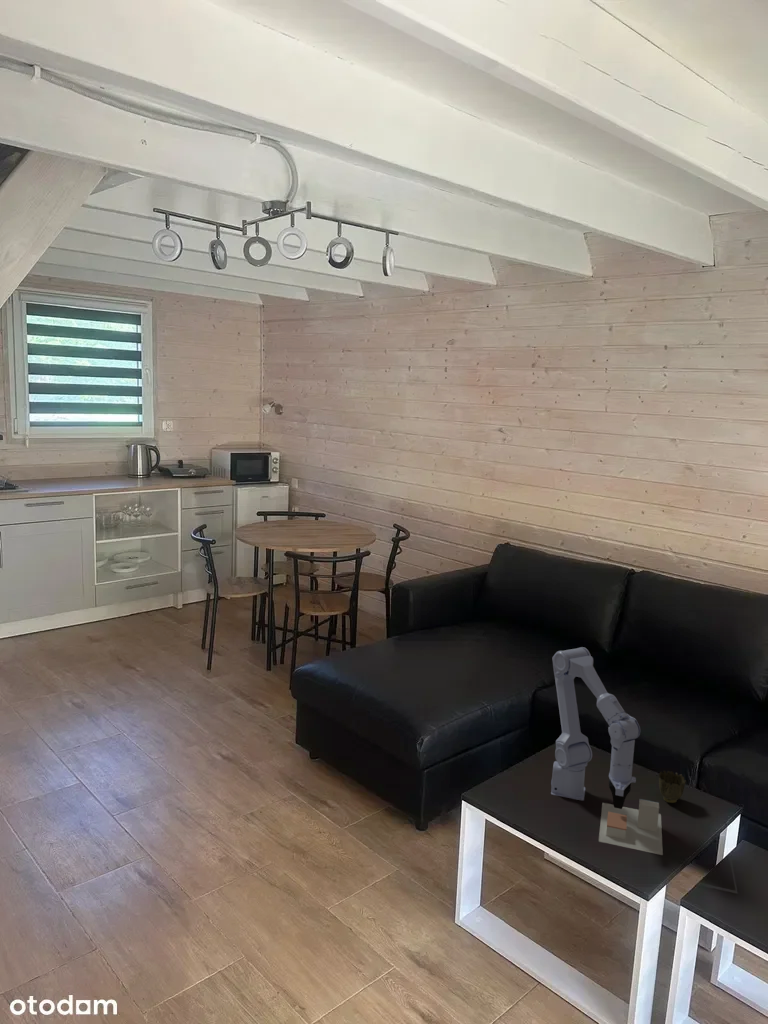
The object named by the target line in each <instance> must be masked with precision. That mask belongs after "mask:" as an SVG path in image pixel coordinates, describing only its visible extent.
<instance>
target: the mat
mask: <svg viewBox="0 0 768 1024" xmlns="http://www.w3.org/2000/svg"><path fill="white" fill-rule="evenodd" d="M608 812H613V813H618V814H623V815H627V827H626V840H625V839H620V838H616V837H611V836H606V830H607V818H608ZM638 812H639V809H637V808H632V807H626V806H623V807H622V809H619V808H614V805H613V804H611V803H608V802H602V804H601V814H600V815H601V816H600V826H599V831H598V832H599V834H598V842H599V843H603V844H609V845H613V846H617V847H623V848H627V849H632V850H637V851H641V852H646V853H649V854H655V855H658V856H659V855H660V856H663V855H664V853H663V834H662V832H663V831H662V829H663V828H662V814H661V813H659V814H658V825H657V832H656V831H651V830H646V829H641V828H638Z"/></svg>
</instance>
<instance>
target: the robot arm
mask: <svg viewBox="0 0 768 1024" xmlns="http://www.w3.org/2000/svg"><path fill="white" fill-rule="evenodd" d="M591 655H592V654H591V653H590V651H589V649H587V648H586V647H583V646H580V647H577V648H572V649H566V650H558V651H556V652H555V653H554V655H553V656H552V657H551V658H552V668H553V675H554V680H555V681H554V682H555V687H556V697H557V703H558V710H559V711H558V712H559V718H560V719H559V720H560V725H561V734H560V735H559V737H558V738H557V739H556V740H555V751H554V757H555V761H553V766H552V772H551V773H552V776H551V781H550V785H551V789H550V791H551V792H550V794H551V795H553V796H557V797H563V798H569V799H572V800H576V801H577V800H579V801H585V795H586V787H585V778H586V777H585V775H586V774H585V773H586V767H587V766H588V763H589V762H591V761H592V758H593V751H592V748H591V746H590V743H589V738H588V736H586V735H585V734H583V733H582V732H581V726H580V718H579V709H578V703H577V695H576V688H575V678H576V677H578V678H581V680H582V681H583V682H584V684H585V685H586V686H587V688H588V689H589V691H591V693H592V694H593V695H594V696H595V698H596V707H597V709H598V711H599V712H600V713H601V715H602V717H603V718H604V720H605V721H606V723H607V725H608V729H607V730H608V735H609V736H610V744H611V752H610V753H611V754H610V766H609V767H610V768H609V772H608V778H609V781H608V786H609V787H608V788H609V789H610V792H611V795H612V803H613V804H612V805H614V808H619V809H622V807H624V805H625V801H626V798H627V796H628V795H629V793H630V792H631V790H632V789H631V788H632V787H631V786H632V783H635V784H636V782H637V777H635V776H632V775H633V765H634V764H633V763H634V754H635V753H634V752H635V743H636V739H638V738H639V737H640V735H641V726H640V724H639V723H638V720H637V719H636V718H635V717H634V716H631V715H630V713H629V714H628V713H627V712H626V710H624V708H623V707H622V705H621V704H620V701H619V700H618V699H617V697H616V696H615V695H614V694H612V693H609V692H608V691H607V689H606V687H605V685H604V683H603V682H602V680H601V678H600V676H599V675H598V673H597V671H596V668H595V667H594V657H593V656H591Z"/></svg>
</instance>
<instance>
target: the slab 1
mask: <svg viewBox="0 0 768 1024" xmlns="http://www.w3.org/2000/svg"><path fill="white" fill-rule="evenodd" d="M626 827H627V815H623V814H618V813H613V812H608V818H607V830H606V836H611V837H616V838H620V839H625V840H626Z"/></svg>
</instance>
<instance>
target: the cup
mask: <svg viewBox="0 0 768 1024" xmlns="http://www.w3.org/2000/svg"><path fill="white" fill-rule="evenodd" d="M686 782H687V779H685V776H683V774H682V773H681V774H679V773H678V772H674V771H670V770H667V771H666V770H663V772H662V771H659V773H658V789H659V792H660V794H661V796H662V797H663V801H664V802H666V803H668V804H676V803H677V802H678V801H677V800H679V799H681V798H682V796H683V793H684V791H685V787H686Z"/></svg>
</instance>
